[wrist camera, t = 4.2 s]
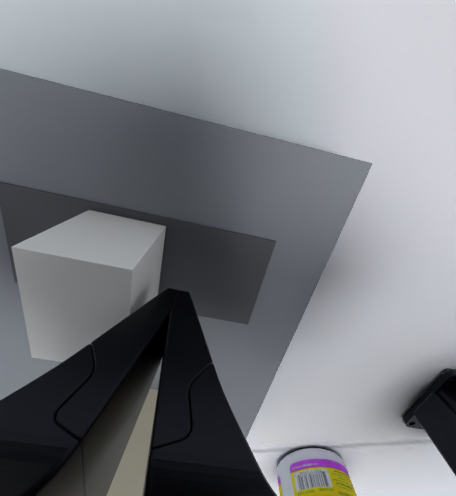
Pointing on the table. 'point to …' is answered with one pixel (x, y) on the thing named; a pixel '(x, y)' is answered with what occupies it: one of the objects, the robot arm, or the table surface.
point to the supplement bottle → (313, 474)
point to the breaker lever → (85, 279)
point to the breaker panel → (175, 218)
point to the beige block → (135, 453)
